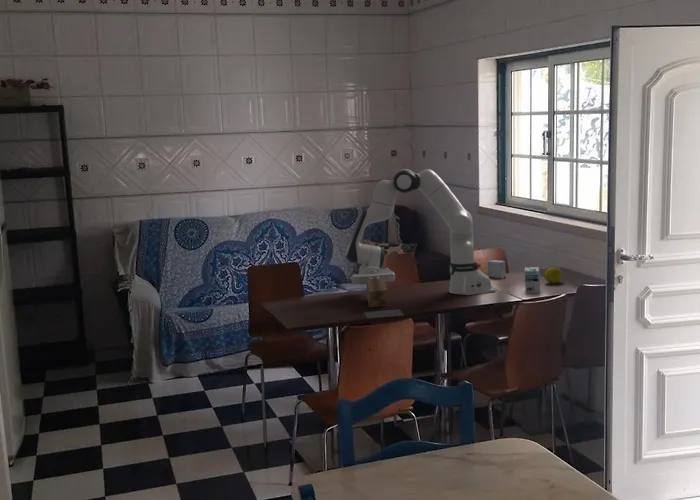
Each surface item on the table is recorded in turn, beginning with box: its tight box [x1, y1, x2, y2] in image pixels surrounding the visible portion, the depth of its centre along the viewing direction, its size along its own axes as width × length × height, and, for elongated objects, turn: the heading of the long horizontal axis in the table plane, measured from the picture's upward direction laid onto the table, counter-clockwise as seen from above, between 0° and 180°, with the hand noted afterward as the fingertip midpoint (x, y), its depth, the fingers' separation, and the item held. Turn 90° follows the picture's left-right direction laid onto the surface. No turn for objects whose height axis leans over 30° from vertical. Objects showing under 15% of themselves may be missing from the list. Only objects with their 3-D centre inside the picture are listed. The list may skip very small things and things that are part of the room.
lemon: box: [544, 266, 564, 285], centre depth 381 cm, size 11×8×8 cm
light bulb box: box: [524, 266, 541, 295], centre depth 365 cm, size 11×7×11 cm, turn 168°
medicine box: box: [487, 259, 507, 279], centre depth 403 cm, size 8×4×9 cm, turn 46°
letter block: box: [365, 278, 388, 308], centre depth 354 cm, size 8×9×9 cm
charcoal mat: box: [363, 308, 405, 320], centre depth 338 cm, size 16×12×1 cm
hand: (375, 280), depth 356 cm, fingers closed, pressing on letter block
